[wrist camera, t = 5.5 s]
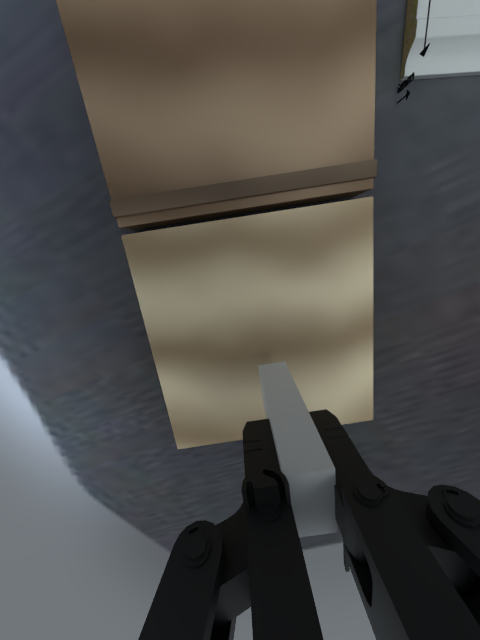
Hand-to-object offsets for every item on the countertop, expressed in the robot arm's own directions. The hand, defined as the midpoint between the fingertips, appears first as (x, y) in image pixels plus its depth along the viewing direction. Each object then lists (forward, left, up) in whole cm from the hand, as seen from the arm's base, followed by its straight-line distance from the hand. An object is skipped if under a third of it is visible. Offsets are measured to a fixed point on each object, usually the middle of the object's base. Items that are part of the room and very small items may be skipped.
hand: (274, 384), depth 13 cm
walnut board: (-17, 0, -4) cm, 18 cm away
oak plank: (-2, 0, -4) cm, 5 cm away
